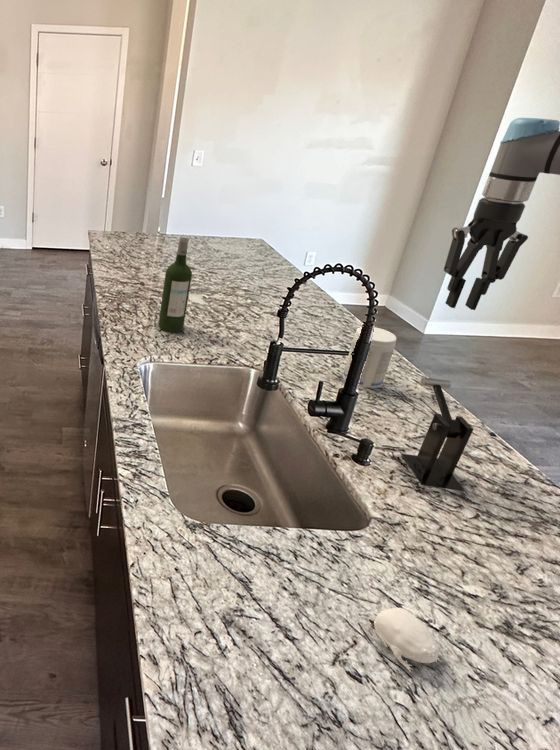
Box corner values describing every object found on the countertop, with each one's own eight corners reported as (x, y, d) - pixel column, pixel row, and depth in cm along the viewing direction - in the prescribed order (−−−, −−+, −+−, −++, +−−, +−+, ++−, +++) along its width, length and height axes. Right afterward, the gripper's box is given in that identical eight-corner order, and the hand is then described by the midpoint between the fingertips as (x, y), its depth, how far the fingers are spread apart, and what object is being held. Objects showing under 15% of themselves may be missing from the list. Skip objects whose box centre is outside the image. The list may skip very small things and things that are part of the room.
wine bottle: (174, 320, 178) (188, 232, 165) (187, 331, 171) (203, 239, 158) (153, 323, 176) (166, 233, 163) (165, 333, 169) (179, 241, 156)
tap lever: (418, 381, 115) (424, 374, 113) (444, 384, 114) (450, 377, 113) (435, 435, 107) (442, 429, 105) (463, 439, 106) (470, 433, 104)
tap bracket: (399, 457, 117) (420, 404, 111) (439, 463, 116) (463, 409, 110) (419, 489, 108) (444, 433, 102) (462, 495, 107) (490, 439, 101)
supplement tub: (373, 375, 149) (390, 328, 143) (386, 393, 141) (404, 343, 135) (336, 371, 151) (351, 324, 144) (347, 388, 142) (363, 339, 136)
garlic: (447, 664, 75) (457, 646, 74) (409, 676, 73) (419, 659, 72) (398, 613, 82) (406, 597, 80) (363, 624, 80) (371, 607, 79)
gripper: (536, 199, 111) (491, 304, 121) (449, 193, 113) (412, 296, 123) (561, 207, 104) (511, 317, 114) (468, 200, 106) (427, 309, 116)
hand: (460, 306), depth 119 cm, fingers open, 3 cm apart
